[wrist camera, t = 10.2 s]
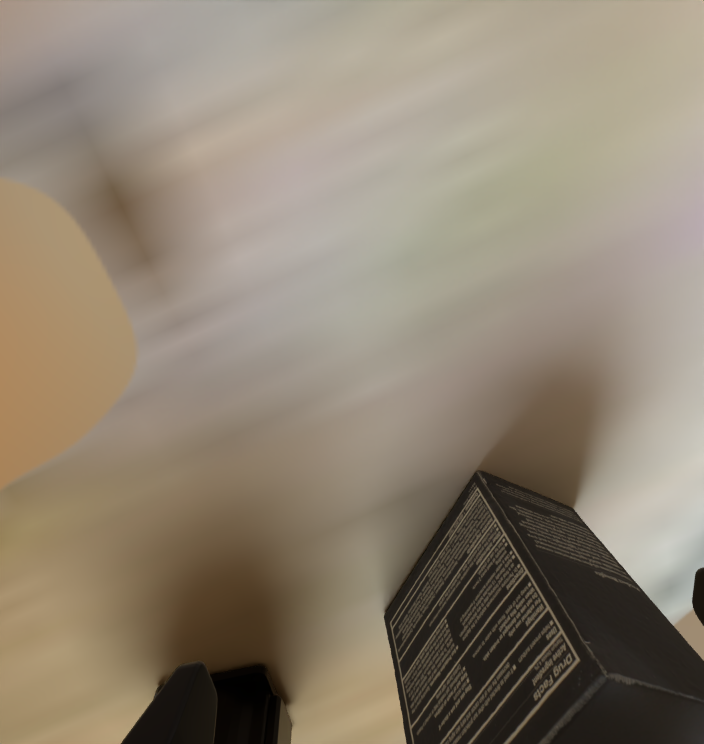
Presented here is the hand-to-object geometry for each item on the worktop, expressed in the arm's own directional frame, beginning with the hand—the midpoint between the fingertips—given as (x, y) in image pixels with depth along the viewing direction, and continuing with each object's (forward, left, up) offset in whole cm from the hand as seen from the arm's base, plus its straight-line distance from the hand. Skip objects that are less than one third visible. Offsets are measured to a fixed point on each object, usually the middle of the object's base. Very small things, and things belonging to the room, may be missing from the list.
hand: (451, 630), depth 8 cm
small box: (+3, -12, -13) cm, 18 cm away
